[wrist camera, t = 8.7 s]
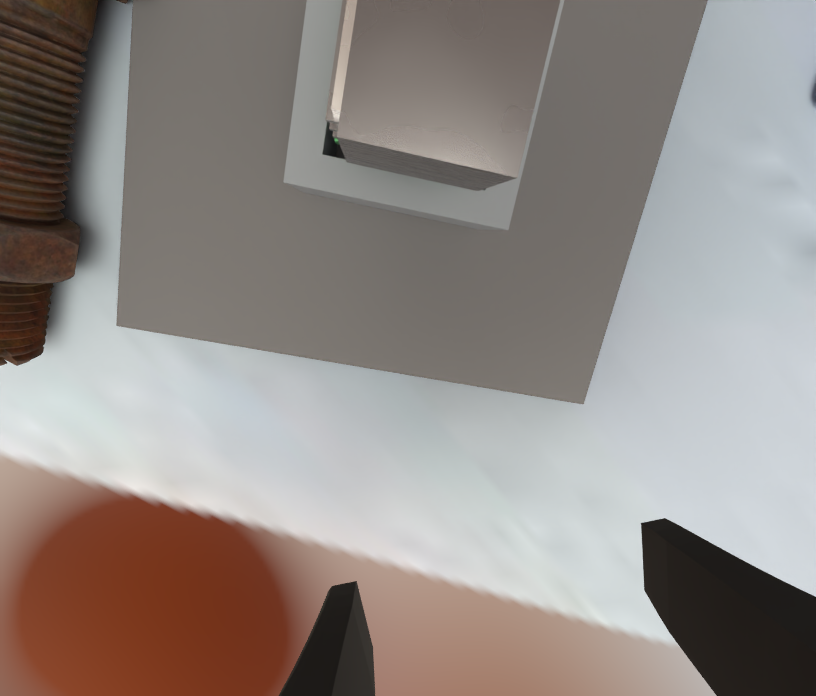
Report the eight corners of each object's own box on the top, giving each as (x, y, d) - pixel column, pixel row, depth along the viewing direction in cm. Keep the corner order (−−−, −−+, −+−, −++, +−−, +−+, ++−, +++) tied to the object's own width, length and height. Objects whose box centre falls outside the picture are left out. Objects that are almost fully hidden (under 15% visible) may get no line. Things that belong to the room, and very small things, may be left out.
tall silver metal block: (508, 2, 14) (672, -267, 6) (463, 206, 15) (554, 186, 8) (367, -37, 13) (361, -381, 6) (334, 178, 15) (295, 127, 7)
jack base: (728, -107, 17) (885, -254, 12) (575, 397, 22) (640, 452, 16) (161, -292, 15) (44, -579, 9) (126, 322, 19) (35, 356, 14)
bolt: (38, 323, 21) (89, -50, 17) (108, 370, 19) (182, -35, 16) (-157, 332, 16) (-143, -203, 12) (-84, 397, 14) (-43, -205, 10)
